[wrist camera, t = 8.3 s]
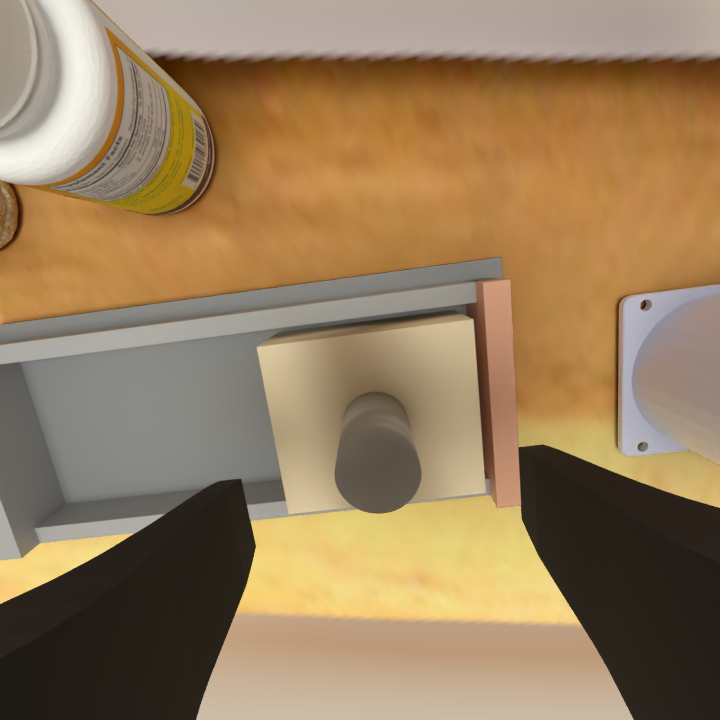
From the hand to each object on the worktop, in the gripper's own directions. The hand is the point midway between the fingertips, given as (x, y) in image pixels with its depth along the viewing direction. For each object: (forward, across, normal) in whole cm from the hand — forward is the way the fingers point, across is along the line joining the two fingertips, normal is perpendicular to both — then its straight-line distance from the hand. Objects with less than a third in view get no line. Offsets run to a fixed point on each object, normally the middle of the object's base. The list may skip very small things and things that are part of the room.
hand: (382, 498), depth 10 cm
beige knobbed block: (+9, 0, 0) cm, 9 cm away
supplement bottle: (+10, +8, -12) cm, 18 cm away
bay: (+10, +6, 0) cm, 11 cm away
